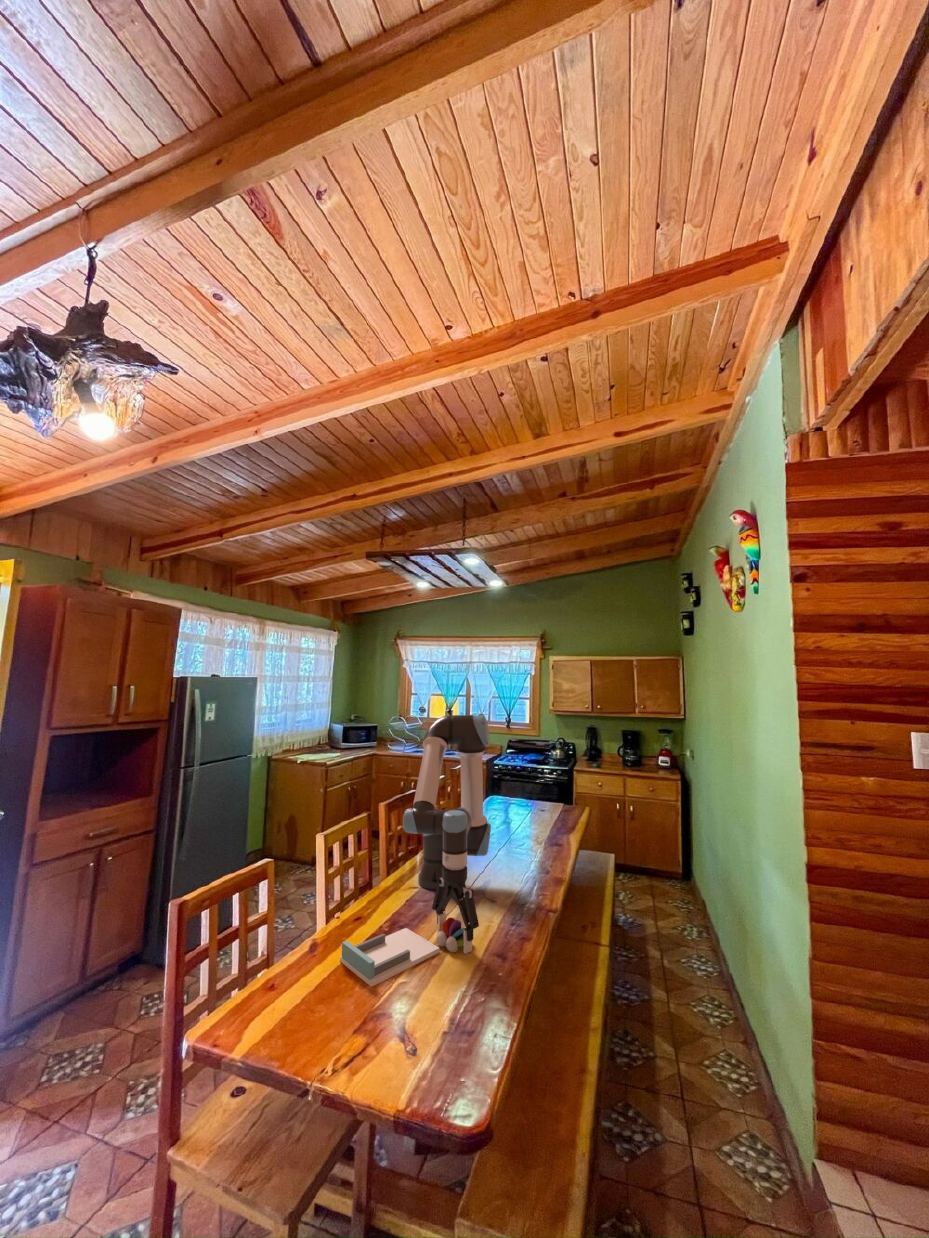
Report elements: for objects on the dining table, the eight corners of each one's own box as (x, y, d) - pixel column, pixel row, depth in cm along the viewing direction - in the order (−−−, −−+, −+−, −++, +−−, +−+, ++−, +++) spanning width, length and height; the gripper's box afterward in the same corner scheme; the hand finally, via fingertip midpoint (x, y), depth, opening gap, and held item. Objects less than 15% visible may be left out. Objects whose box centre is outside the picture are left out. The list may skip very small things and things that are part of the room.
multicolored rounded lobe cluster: (453, 934, 150) (453, 909, 151) (475, 946, 143) (475, 919, 144) (432, 944, 144) (432, 918, 145) (454, 957, 138) (454, 930, 138)
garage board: (405, 931, 151) (406, 914, 152) (439, 952, 140) (439, 932, 141) (339, 960, 136) (340, 941, 136) (371, 986, 124) (371, 964, 125)
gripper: (421, 858, 153) (420, 934, 150) (472, 880, 136) (472, 965, 133) (439, 852, 158) (438, 925, 155) (491, 872, 141) (491, 954, 138)
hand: (454, 944), depth 144 cm, fingers open, 11 cm apart
